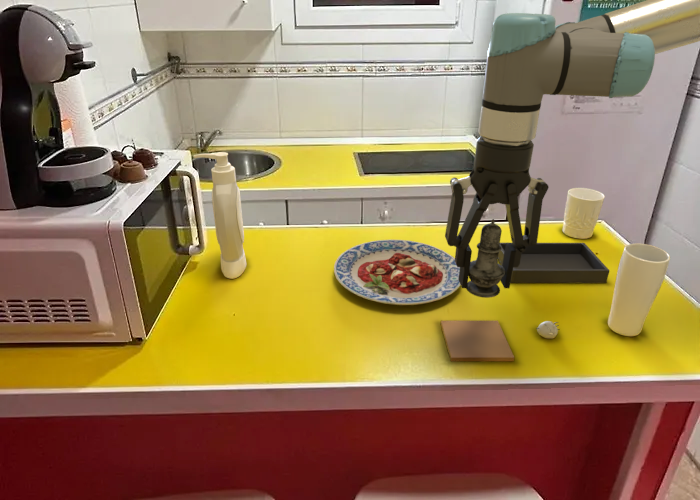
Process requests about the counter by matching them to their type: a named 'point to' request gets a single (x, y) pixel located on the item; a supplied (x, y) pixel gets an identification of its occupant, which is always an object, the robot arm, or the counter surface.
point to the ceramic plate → (398, 272)
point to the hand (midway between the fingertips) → (483, 283)
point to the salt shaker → (486, 264)
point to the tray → (557, 264)
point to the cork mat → (476, 341)
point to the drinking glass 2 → (636, 287)
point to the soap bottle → (227, 215)
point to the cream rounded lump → (548, 329)
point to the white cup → (582, 212)
